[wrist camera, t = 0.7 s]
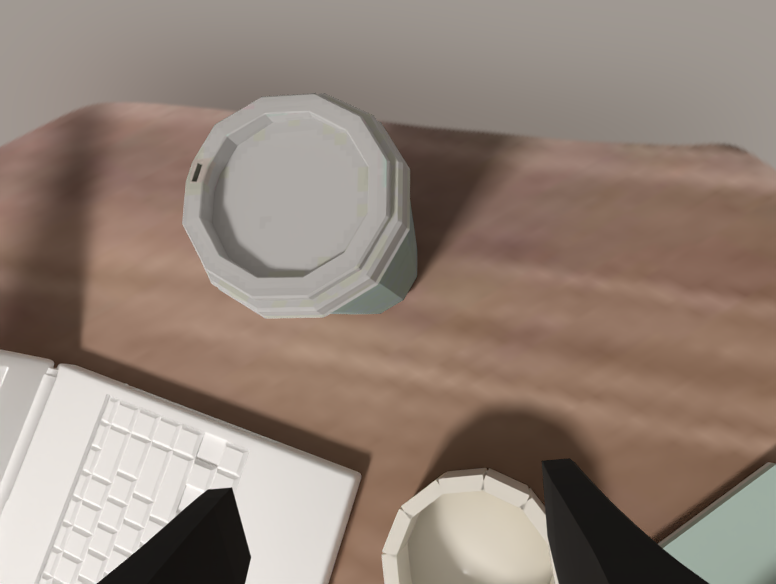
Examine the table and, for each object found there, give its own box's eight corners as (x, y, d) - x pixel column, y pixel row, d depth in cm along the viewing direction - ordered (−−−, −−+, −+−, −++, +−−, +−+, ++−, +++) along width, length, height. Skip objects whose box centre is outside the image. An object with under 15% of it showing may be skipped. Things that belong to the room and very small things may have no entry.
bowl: (601, 580, 31) (613, 604, 27) (464, 681, 31) (457, 718, 28) (491, 436, 34) (488, 439, 30) (368, 531, 34) (349, 545, 30)
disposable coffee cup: (466, 214, 37) (434, 89, 23) (423, 370, 36) (360, 342, 21) (322, 186, 40) (214, 59, 26) (277, 329, 38) (135, 280, 24)
